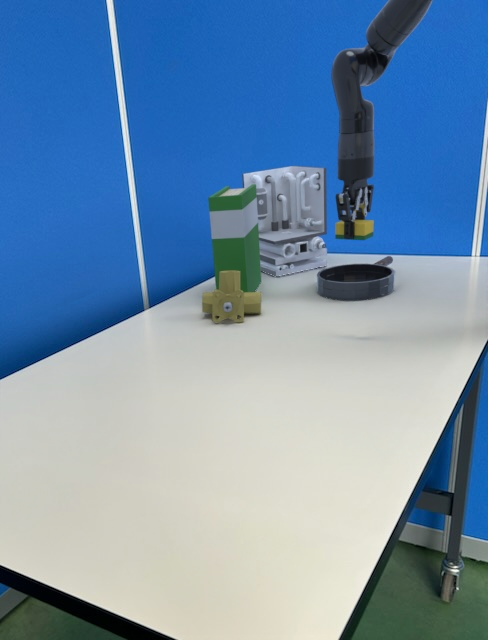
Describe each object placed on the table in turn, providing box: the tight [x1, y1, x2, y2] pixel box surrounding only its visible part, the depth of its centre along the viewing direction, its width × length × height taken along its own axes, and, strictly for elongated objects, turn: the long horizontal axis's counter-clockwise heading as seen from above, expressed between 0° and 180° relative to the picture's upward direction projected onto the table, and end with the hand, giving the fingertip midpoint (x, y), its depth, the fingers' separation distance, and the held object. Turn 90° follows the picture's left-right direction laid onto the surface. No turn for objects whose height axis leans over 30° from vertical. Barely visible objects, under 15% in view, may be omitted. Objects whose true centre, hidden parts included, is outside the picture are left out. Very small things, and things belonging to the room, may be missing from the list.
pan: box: [316, 263, 396, 302], centre depth 144 cm, size 17×17×4 cm
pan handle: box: [373, 255, 394, 267], centre depth 153 cm, size 2×11×2 cm, turn 140°
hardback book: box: [207, 184, 262, 293], centre depth 148 cm, size 18×7×24 cm, turn 164°
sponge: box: [334, 219, 375, 241], centre depth 139 cm, size 7×4×4 cm, turn 50°
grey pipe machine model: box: [241, 165, 328, 278], centre depth 164 cm, size 16×19×25 cm
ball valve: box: [201, 270, 262, 324], centre depth 134 cm, size 13×10×10 cm
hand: (354, 236), depth 139 cm, fingers closed on sponge, 4 cm apart
